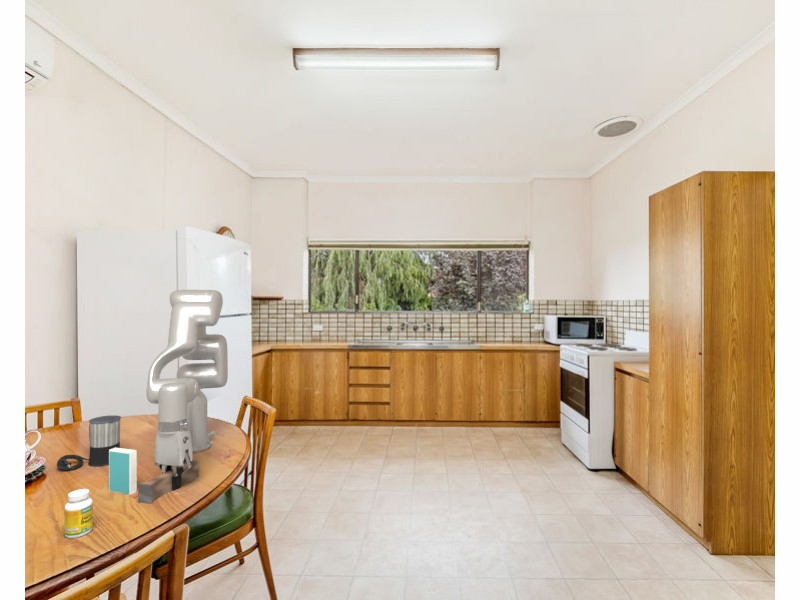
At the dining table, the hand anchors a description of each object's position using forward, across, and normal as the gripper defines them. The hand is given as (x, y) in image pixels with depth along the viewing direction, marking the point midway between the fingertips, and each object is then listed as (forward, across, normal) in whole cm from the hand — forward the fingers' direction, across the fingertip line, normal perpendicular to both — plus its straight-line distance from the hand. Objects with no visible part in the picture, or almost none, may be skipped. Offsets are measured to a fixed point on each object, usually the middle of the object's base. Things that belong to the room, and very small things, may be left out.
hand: (172, 487), depth 125 cm
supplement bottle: (0, +2, +26) cm, 26 cm away
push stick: (0, 0, 0) cm, 0 cm away
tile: (0, +12, +6) cm, 13 cm away
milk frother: (0, +41, -7) cm, 42 cm away
